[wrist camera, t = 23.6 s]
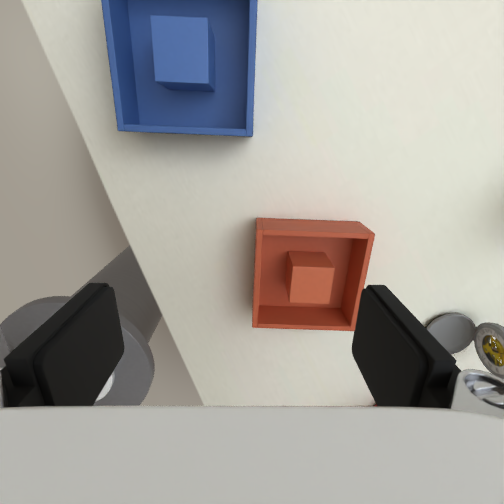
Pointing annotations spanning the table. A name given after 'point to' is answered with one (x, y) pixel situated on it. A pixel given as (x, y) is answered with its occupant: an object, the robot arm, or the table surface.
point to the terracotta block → (309, 277)
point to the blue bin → (181, 101)
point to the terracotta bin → (309, 240)
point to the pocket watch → (464, 331)
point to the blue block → (183, 52)
